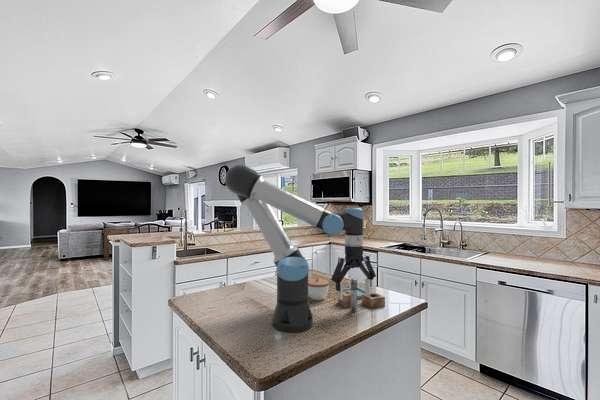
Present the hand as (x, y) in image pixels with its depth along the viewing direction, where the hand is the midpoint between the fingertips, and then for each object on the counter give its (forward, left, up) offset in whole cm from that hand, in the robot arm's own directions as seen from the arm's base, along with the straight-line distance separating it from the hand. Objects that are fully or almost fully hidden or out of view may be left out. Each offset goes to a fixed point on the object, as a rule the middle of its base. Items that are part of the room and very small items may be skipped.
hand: (354, 296), depth 120 cm
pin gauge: (0, 0, -6) cm, 6 cm away
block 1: (+2, +8, -6) cm, 10 cm away
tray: (+12, +18, -6) cm, 22 cm away
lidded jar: (-7, +20, -6) cm, 22 cm away
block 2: (+12, +3, -6) cm, 14 cm away
